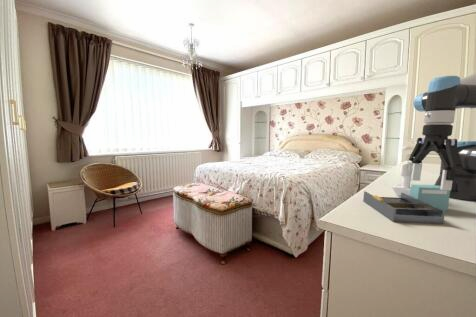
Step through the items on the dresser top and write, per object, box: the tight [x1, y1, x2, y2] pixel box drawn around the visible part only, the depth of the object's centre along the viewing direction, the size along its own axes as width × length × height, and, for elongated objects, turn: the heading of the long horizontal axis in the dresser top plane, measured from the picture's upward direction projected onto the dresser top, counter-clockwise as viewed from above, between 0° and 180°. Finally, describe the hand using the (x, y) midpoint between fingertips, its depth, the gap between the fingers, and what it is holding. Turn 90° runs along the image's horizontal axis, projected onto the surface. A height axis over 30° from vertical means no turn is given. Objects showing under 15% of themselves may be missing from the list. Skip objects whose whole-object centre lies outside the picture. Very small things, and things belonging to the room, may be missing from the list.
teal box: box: [410, 183, 450, 211], centre depth 77 cm, size 10×4×8 cm, turn 84°
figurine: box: [391, 160, 413, 197], centre depth 90 cm, size 7×9×15 cm
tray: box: [362, 190, 446, 225], centre depth 73 cm, size 14×19×5 cm
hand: (429, 184), depth 76 cm, fingers open, 13 cm apart
